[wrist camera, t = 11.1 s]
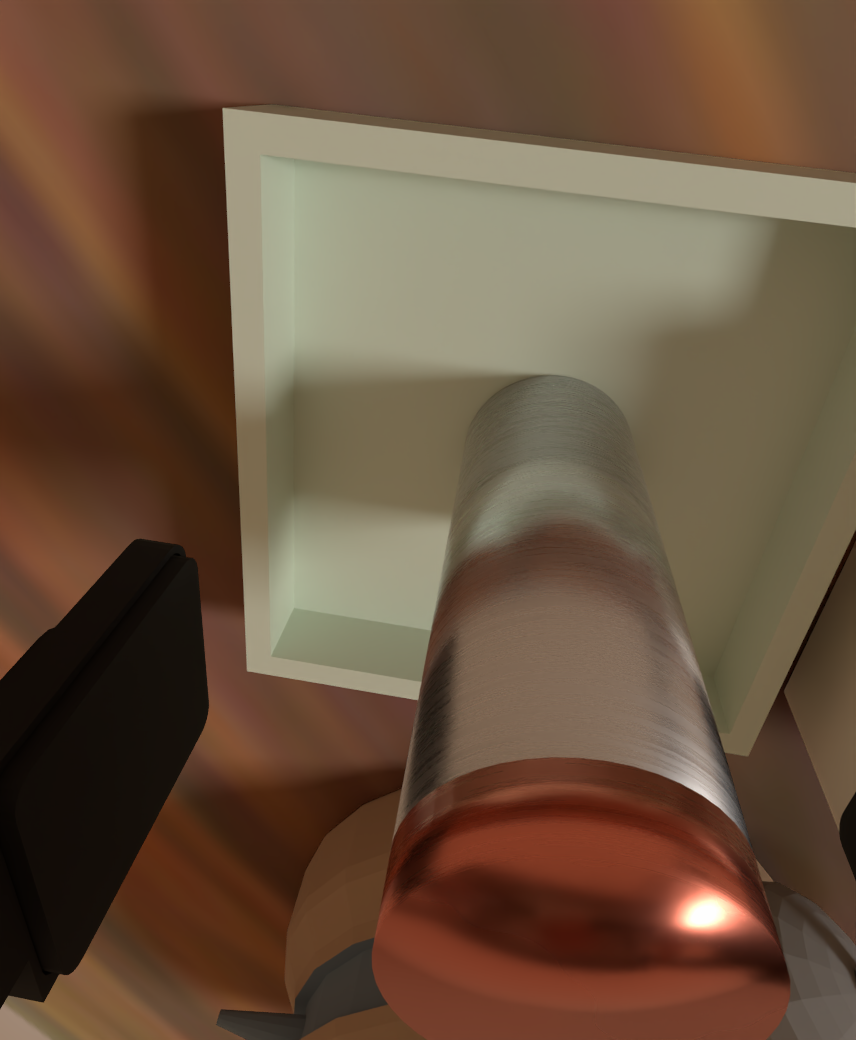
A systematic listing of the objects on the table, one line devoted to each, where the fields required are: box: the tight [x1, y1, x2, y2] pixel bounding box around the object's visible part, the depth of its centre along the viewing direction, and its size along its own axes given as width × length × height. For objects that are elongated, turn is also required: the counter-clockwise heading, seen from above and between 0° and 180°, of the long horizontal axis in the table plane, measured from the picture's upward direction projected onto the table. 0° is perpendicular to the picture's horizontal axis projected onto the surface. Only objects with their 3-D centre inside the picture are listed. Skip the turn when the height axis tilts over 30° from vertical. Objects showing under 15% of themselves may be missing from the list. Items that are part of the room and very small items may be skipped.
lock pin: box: [372, 375, 790, 1040], centre depth 11 cm, size 4×4×11 cm
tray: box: [223, 104, 856, 756], centre depth 15 cm, size 12×12×2 cm
